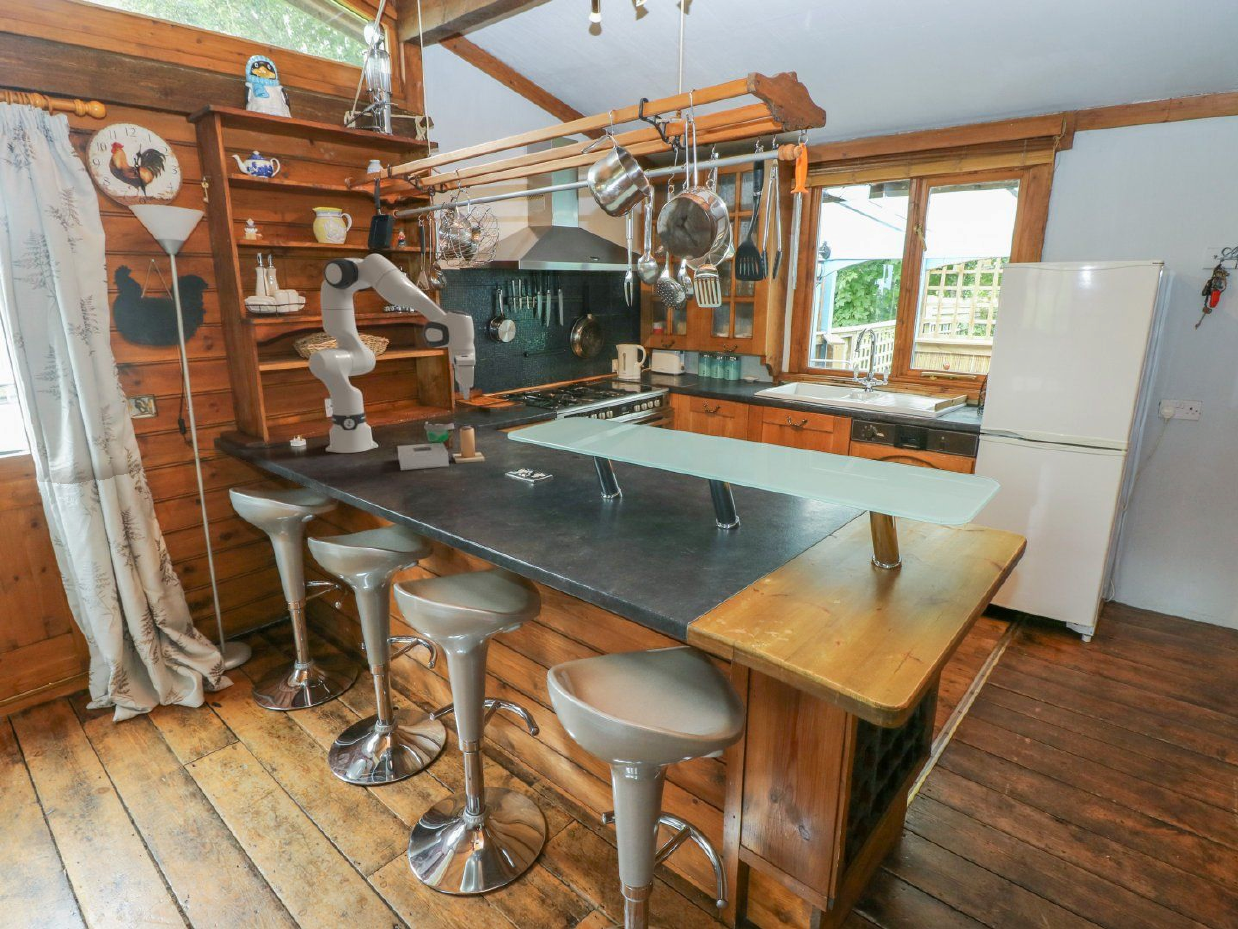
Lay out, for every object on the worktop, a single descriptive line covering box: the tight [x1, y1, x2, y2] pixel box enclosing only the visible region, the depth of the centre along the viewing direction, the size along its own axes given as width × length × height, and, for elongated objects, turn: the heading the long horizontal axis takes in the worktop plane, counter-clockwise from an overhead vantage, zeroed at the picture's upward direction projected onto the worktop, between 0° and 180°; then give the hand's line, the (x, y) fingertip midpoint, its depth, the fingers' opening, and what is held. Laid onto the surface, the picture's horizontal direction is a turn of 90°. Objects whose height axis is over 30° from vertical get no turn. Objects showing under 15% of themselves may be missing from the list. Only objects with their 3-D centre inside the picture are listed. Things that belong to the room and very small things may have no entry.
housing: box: [397, 443, 450, 471], centre depth 237 cm, size 16×16×5 cm
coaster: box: [452, 451, 486, 464], centre depth 243 cm, size 10×10×1 cm
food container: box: [423, 420, 455, 451], centre depth 257 cm, size 12×6×10 cm, turn 73°
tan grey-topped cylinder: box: [459, 425, 476, 458], centre depth 242 cm, size 5×5×11 cm
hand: (464, 396), depth 238 cm, fingers open, 8 cm apart
